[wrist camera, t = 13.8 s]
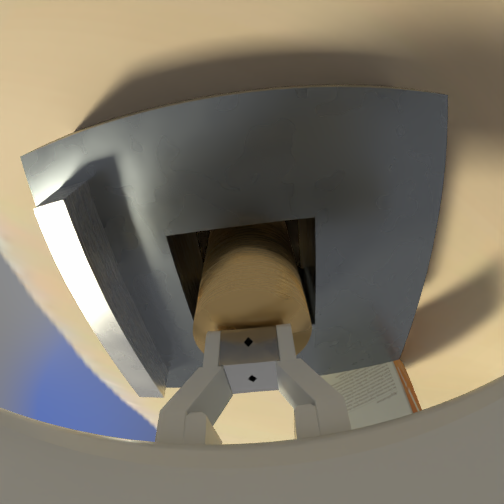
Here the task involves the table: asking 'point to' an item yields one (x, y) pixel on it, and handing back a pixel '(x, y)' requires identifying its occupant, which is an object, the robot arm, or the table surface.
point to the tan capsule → (251, 283)
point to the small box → (375, 393)
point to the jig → (247, 215)
